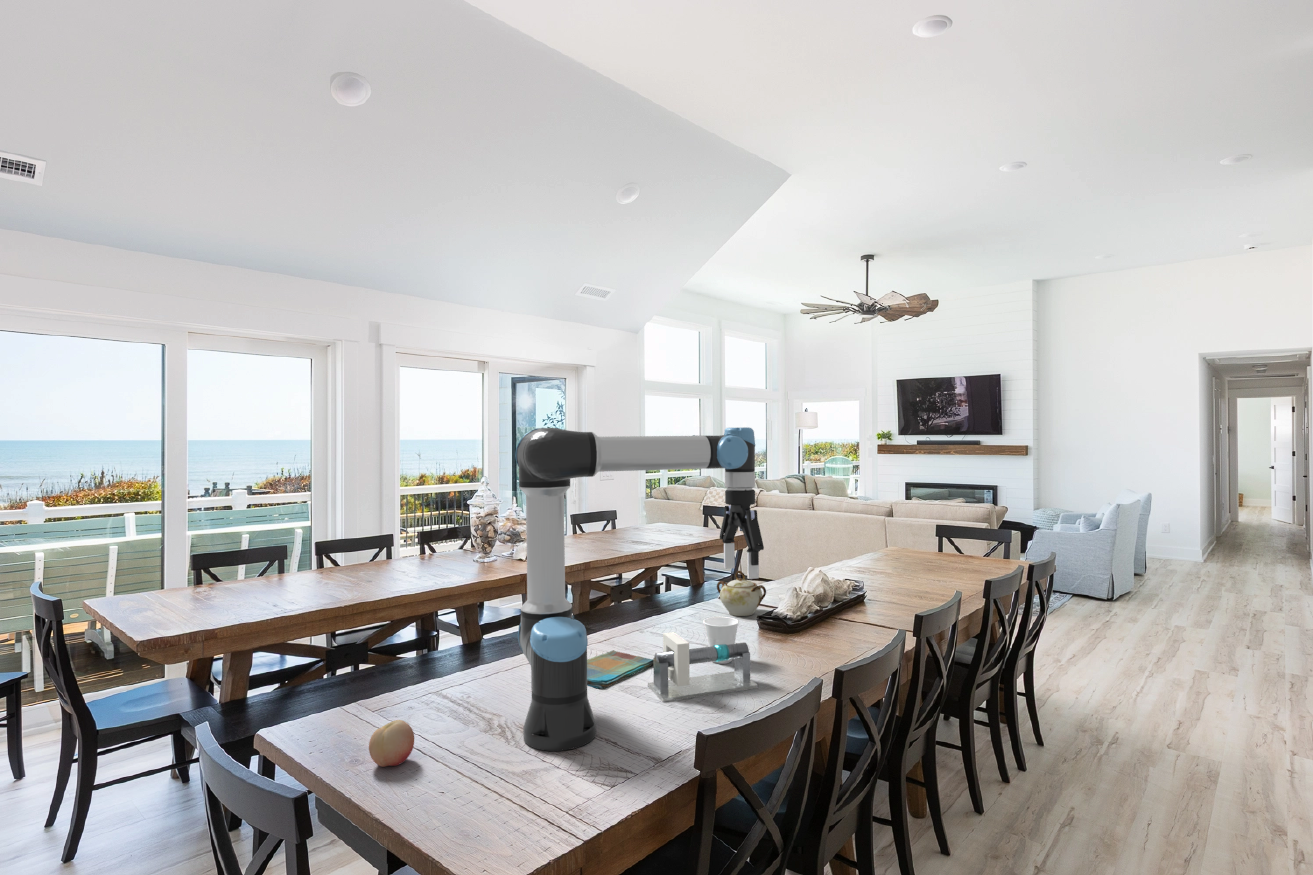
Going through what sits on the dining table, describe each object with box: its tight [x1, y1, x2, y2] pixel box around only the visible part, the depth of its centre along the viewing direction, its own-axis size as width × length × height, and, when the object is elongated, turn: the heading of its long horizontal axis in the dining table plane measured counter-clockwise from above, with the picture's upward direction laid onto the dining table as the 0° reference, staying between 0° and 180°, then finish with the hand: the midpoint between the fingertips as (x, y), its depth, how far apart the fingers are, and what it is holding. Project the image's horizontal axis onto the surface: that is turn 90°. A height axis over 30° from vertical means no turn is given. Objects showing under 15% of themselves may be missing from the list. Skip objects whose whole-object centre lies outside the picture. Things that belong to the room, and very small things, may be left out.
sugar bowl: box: [716, 570, 767, 617], centre depth 245 cm, size 20×15×15 cm
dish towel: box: [587, 650, 653, 690], centre depth 188 cm, size 17×23×2 cm
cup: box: [702, 616, 740, 665], centre depth 195 cm, size 10×10×11 cm
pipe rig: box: [647, 642, 759, 703], centre depth 174 cm, size 25×11×10 cm, turn 110°
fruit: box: [368, 719, 415, 768], centre depth 135 cm, size 8×8×8 cm
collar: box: [662, 631, 690, 686], centre depth 172 cm, size 3×10×10 cm, turn 19°
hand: (740, 573), depth 176 cm, fingers open, 13 cm apart
